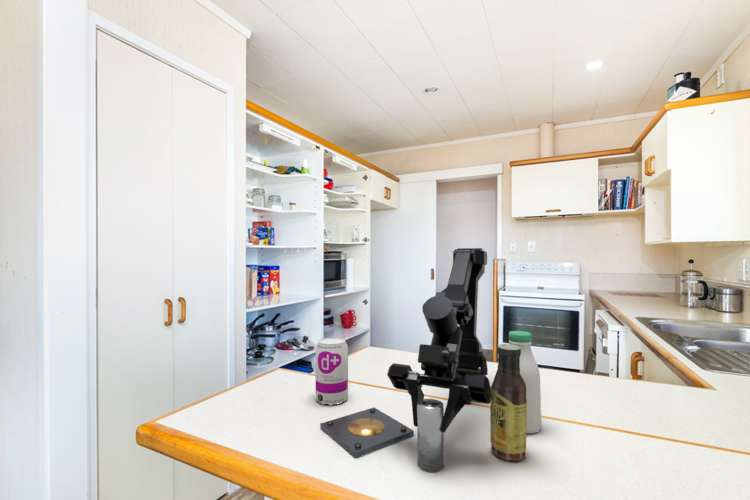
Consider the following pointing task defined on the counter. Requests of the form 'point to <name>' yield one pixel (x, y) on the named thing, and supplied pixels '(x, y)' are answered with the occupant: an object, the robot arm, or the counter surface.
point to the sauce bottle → (508, 406)
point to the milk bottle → (529, 378)
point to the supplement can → (331, 370)
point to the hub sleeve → (430, 435)
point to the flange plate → (366, 431)
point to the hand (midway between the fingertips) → (428, 428)
